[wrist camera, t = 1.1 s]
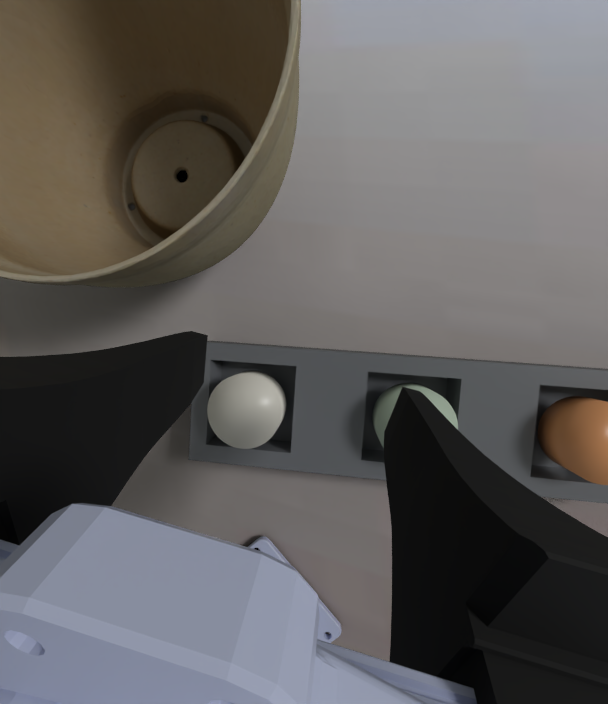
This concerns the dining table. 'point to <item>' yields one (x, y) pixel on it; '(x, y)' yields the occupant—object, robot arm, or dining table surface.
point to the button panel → (365, 388)
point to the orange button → (577, 436)
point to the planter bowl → (140, 134)
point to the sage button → (389, 400)
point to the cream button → (246, 409)
